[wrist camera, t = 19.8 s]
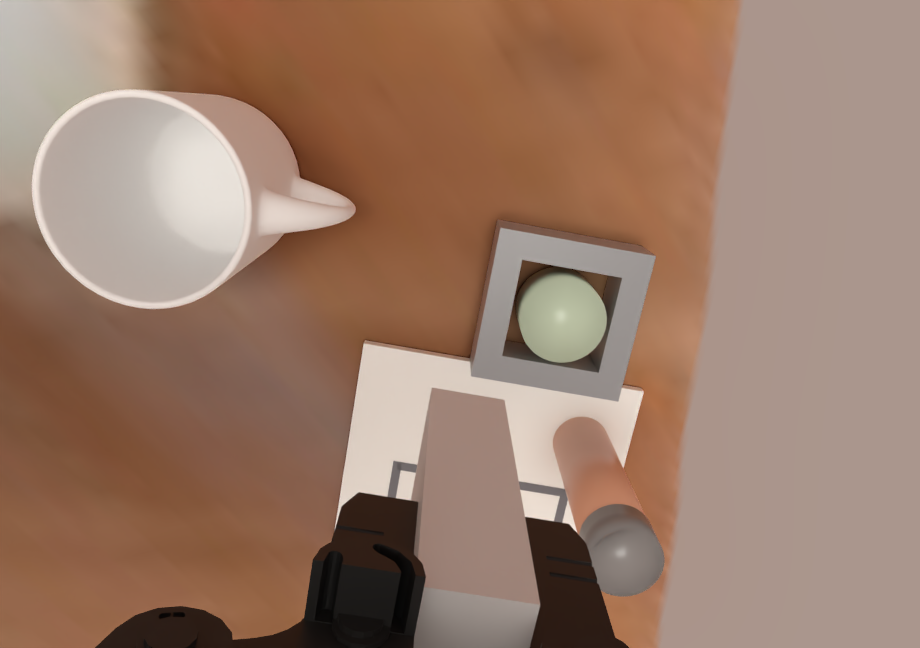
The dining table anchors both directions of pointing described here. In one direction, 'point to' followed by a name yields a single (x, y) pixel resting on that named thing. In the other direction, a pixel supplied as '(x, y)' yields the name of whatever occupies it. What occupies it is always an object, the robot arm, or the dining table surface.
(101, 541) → the dining table surface
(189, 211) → the mug
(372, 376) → the sheet
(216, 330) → the dining table surface
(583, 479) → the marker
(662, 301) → the dining table surface
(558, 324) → the button
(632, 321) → the button housing
